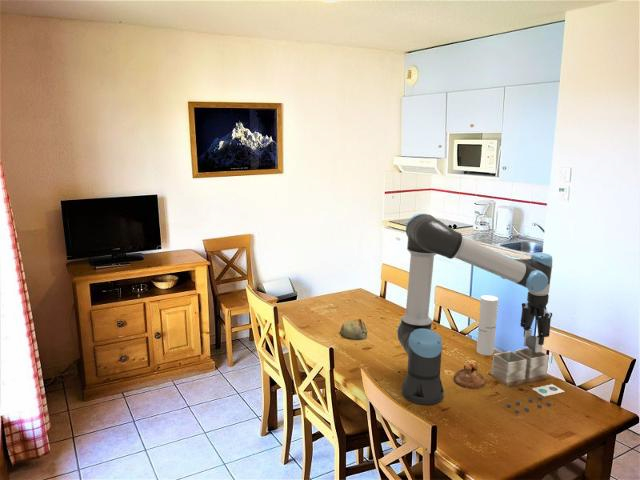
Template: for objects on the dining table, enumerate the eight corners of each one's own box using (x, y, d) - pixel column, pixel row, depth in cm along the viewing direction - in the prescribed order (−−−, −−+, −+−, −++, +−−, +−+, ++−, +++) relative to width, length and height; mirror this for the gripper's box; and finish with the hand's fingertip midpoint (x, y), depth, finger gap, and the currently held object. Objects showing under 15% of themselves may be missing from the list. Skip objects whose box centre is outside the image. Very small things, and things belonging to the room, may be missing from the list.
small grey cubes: (516, 413, 173) (517, 411, 173) (506, 406, 178) (506, 403, 178) (550, 405, 179) (551, 403, 179) (539, 398, 184) (539, 395, 183)
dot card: (543, 396, 185) (544, 396, 185) (531, 389, 190) (531, 388, 190) (564, 391, 188) (564, 391, 188) (552, 384, 194) (552, 383, 194)
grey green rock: (373, 338, 236) (373, 322, 234) (349, 342, 231) (350, 326, 229) (358, 327, 248) (358, 312, 247) (335, 331, 243) (336, 316, 242)
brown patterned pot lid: (471, 372, 203) (472, 355, 202) (491, 386, 192) (492, 368, 191) (447, 377, 199) (448, 360, 198) (466, 391, 188) (467, 373, 187)
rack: (507, 386, 192) (509, 365, 190) (488, 374, 202) (490, 353, 200) (550, 377, 199) (552, 356, 197) (529, 365, 209) (531, 345, 207)
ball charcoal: (532, 353, 197) (533, 339, 195) (522, 347, 202) (523, 334, 201) (543, 350, 199) (544, 337, 197) (533, 345, 204) (534, 332, 202)
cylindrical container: (494, 356, 218) (499, 301, 213) (477, 354, 219) (481, 299, 214) (492, 349, 225) (497, 295, 219) (475, 347, 226) (480, 294, 221)
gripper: (564, 298, 188) (557, 356, 193) (528, 285, 205) (523, 338, 210) (549, 301, 185) (542, 359, 190) (513, 287, 202) (508, 341, 207)
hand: (532, 348), depth 200 cm, fingers closed on ball charcoal, 5 cm apart
